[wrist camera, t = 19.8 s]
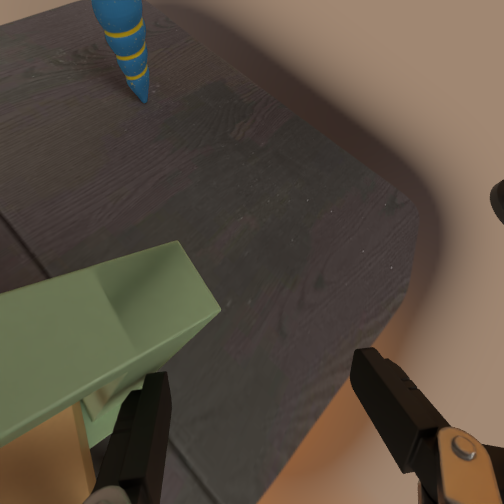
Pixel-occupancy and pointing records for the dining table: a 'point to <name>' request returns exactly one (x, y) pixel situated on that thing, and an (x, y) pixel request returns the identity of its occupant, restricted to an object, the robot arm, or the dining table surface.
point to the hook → (95, 337)
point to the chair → (49, 463)
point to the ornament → (126, 40)
